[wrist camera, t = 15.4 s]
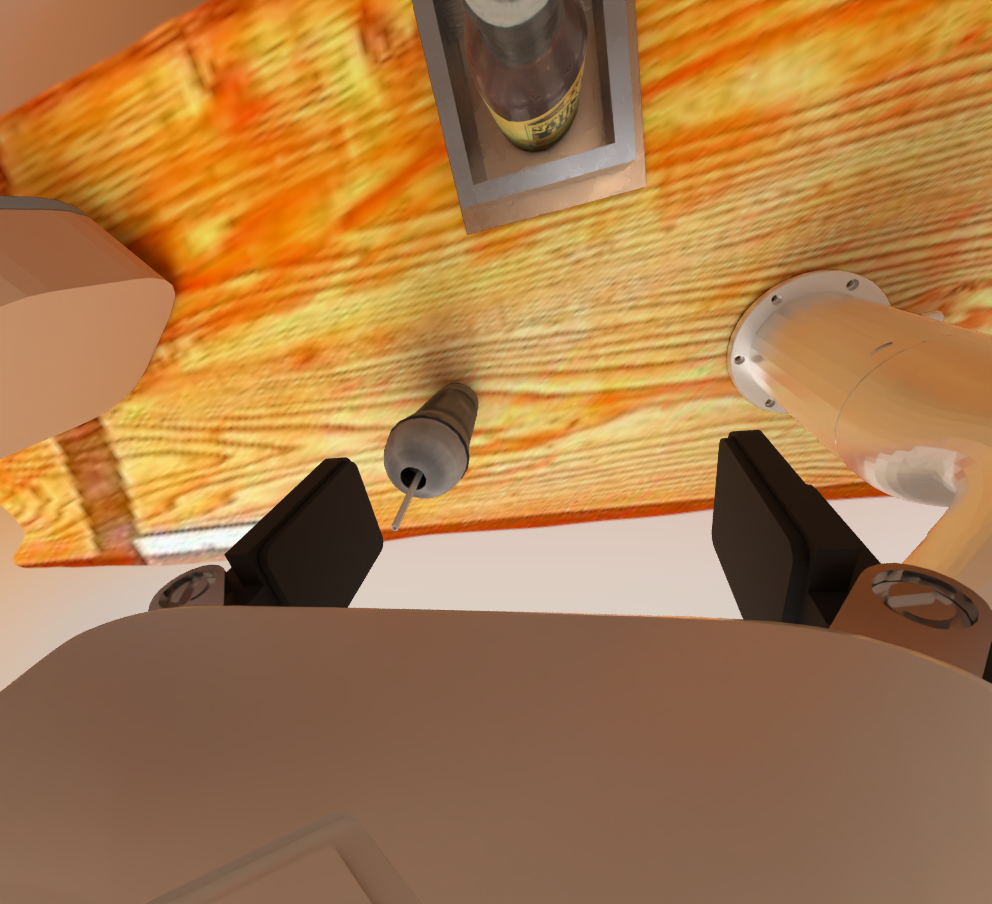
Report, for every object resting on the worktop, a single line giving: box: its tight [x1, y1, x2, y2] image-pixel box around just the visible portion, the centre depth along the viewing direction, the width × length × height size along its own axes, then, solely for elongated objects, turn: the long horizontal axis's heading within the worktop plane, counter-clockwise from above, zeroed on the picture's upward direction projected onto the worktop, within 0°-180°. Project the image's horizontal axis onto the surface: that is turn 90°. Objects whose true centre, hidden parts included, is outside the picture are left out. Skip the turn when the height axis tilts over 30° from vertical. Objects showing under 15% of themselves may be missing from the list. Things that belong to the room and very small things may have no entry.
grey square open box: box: [412, 0, 646, 235], centre depth 29 cm, size 15×15×8 cm
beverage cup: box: [384, 383, 478, 531], centre depth 38 cm, size 7×7×20 cm
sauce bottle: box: [462, 0, 588, 151], centre depth 23 cm, size 7×6×20 cm
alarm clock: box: [0, 196, 176, 459], centre depth 37 cm, size 21×10×22 cm, turn 137°
